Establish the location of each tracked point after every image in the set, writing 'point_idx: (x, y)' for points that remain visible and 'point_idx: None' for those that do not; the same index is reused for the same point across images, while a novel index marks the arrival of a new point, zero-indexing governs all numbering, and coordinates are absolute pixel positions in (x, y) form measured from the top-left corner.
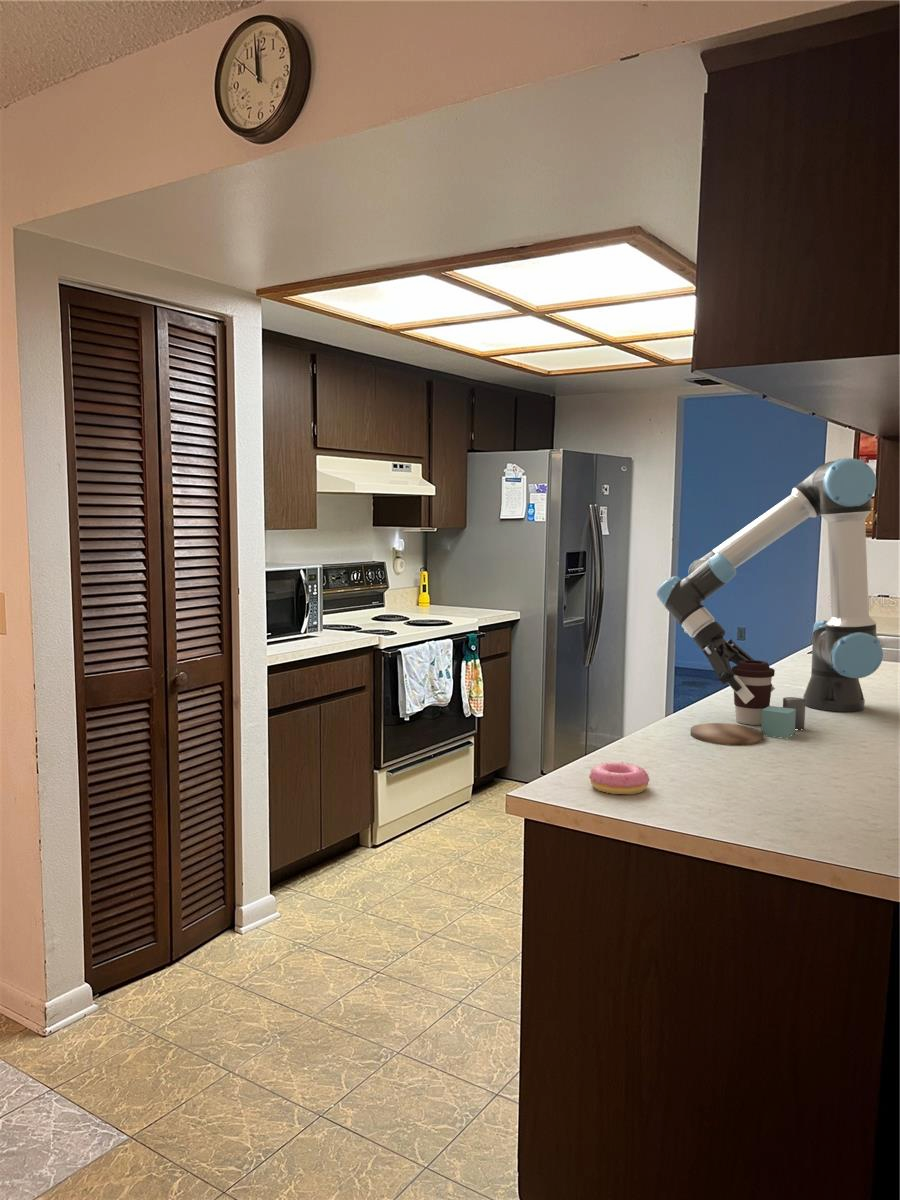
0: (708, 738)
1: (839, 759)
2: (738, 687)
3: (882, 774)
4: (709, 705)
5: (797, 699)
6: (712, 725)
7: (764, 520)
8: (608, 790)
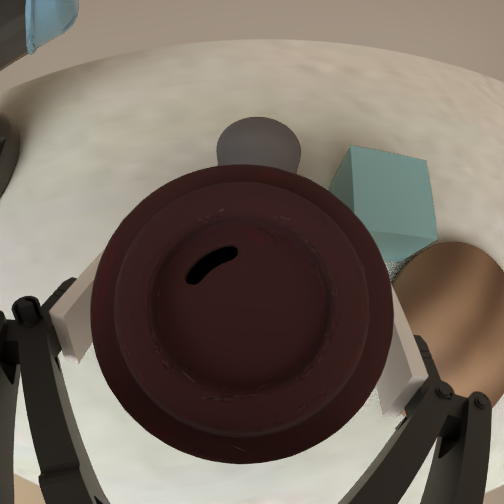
0: None
1: (461, 111)
2: (423, 344)
3: (478, 78)
4: None
5: (257, 139)
6: None
7: None
8: None
